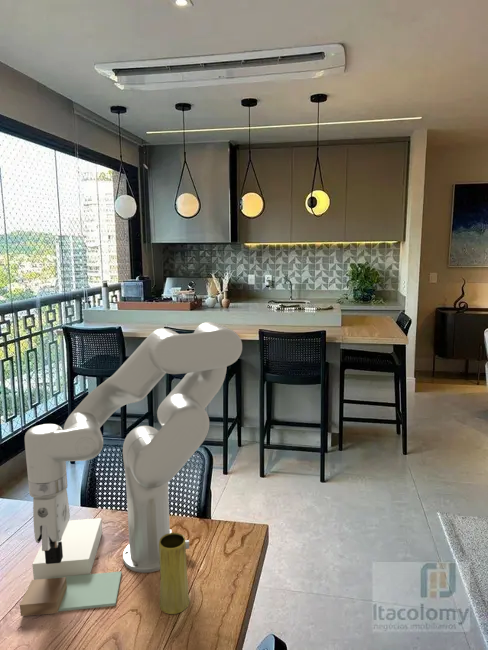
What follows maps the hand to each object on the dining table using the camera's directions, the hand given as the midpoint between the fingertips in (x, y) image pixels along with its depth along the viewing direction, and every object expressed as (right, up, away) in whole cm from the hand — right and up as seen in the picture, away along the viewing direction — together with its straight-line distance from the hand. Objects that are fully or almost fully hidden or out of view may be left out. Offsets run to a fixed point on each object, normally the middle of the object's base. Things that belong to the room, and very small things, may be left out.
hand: (54, 560), depth 101 cm
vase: (+27, -6, -6) cm, 28 cm away
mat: (+7, -5, -3) cm, 9 cm away
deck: (0, -3, +10) cm, 10 cm away
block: (0, -3, -6) cm, 7 cm away
